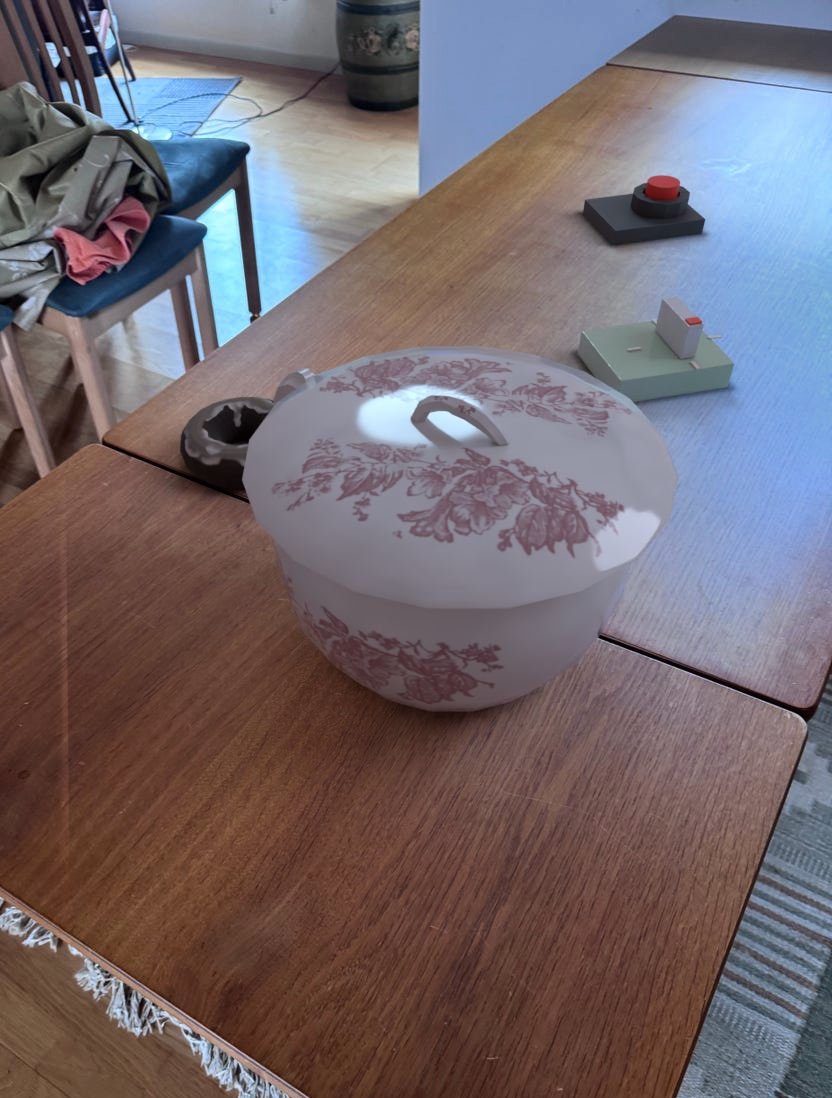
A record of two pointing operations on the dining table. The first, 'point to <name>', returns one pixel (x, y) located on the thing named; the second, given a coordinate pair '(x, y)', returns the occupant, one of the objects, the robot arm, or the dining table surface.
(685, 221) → the button block
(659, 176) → the red button
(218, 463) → the donut
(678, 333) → the grey rectangular block
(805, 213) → the dining table surface
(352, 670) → the chamber pot
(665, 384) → the tap panel
